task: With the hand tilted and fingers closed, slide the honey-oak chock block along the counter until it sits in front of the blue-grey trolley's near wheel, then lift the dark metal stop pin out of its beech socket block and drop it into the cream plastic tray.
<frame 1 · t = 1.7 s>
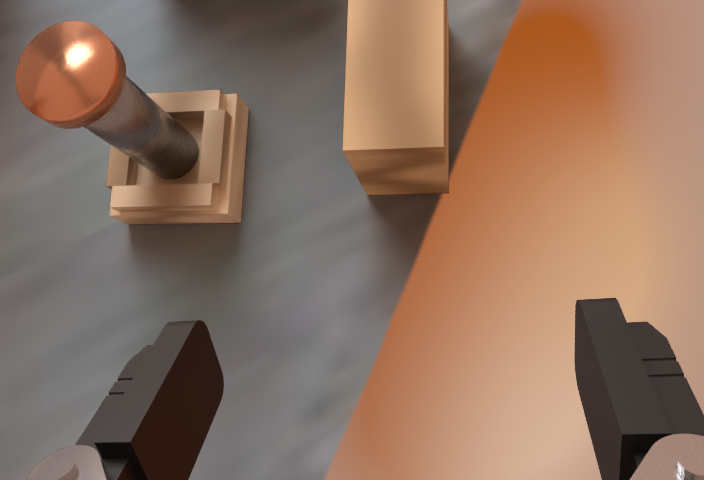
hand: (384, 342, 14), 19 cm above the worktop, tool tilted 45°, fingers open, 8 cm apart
pin: (173, 154, 36), point 2 cm above the worktop, touching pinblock
chock: (408, 109, 36), on the worktop
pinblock: (188, 166, 37), on the worktop
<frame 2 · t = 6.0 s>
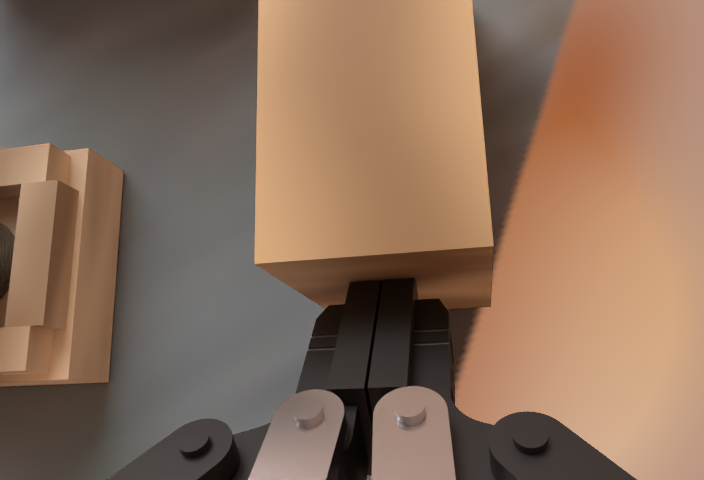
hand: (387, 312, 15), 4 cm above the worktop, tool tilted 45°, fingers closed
chock: (403, 151, 20), on the worktop, touching gripper
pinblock: (21, 279, 21), on the worktop
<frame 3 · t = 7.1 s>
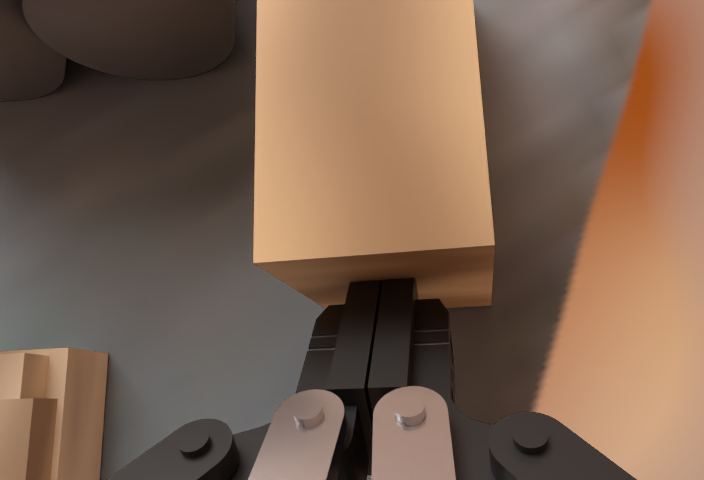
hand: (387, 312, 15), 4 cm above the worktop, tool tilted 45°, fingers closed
chock: (403, 149, 20), on the worktop, touching gripper
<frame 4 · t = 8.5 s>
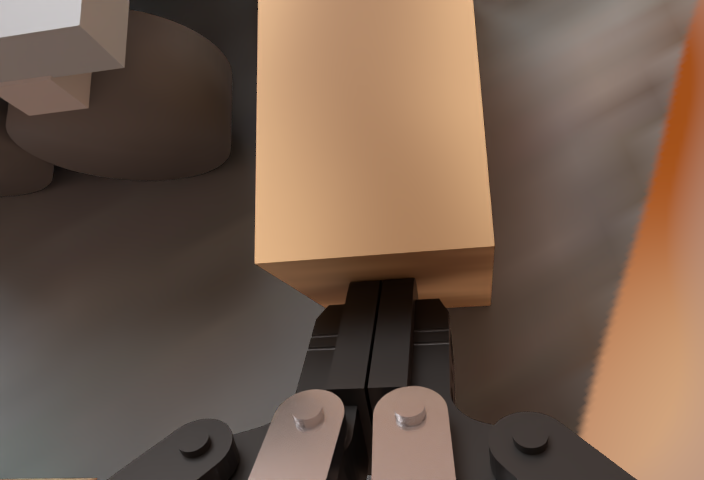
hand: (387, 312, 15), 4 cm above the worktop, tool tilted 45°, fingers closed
chock: (403, 149, 20), on the worktop, touching gripper
trolley: (105, 16, 23), on the worktop
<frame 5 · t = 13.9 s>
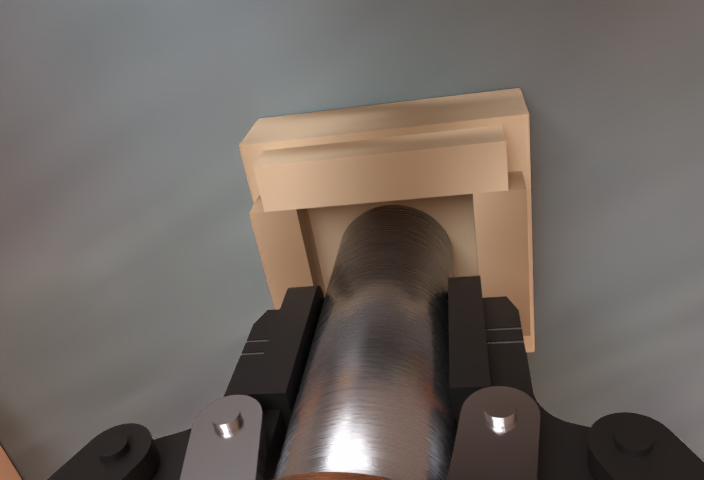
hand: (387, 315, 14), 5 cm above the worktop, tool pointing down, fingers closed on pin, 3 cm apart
pin: (395, 255, 17), point 2 cm above the worktop, touching gripper, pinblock
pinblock: (400, 219, 18), on the worktop
when the fingers open (6 cm above the worktop, at t = 19.3 s): pin stays where it is, resting on tray.
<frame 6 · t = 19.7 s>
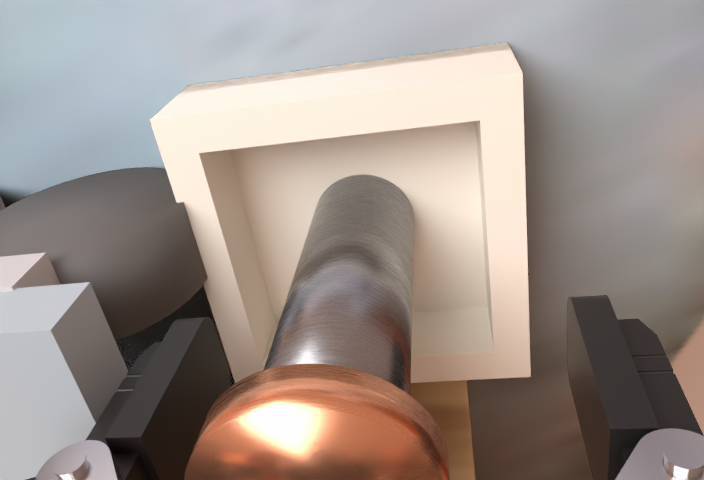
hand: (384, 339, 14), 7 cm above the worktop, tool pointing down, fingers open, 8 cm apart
tray: (365, 208, 20), on the worktop
pin: (364, 220, 19), point 1 cm above the worktop, touching tray
chock: (415, 452, 25), on the worktop
trolley: (109, 342, 23), on the worktop
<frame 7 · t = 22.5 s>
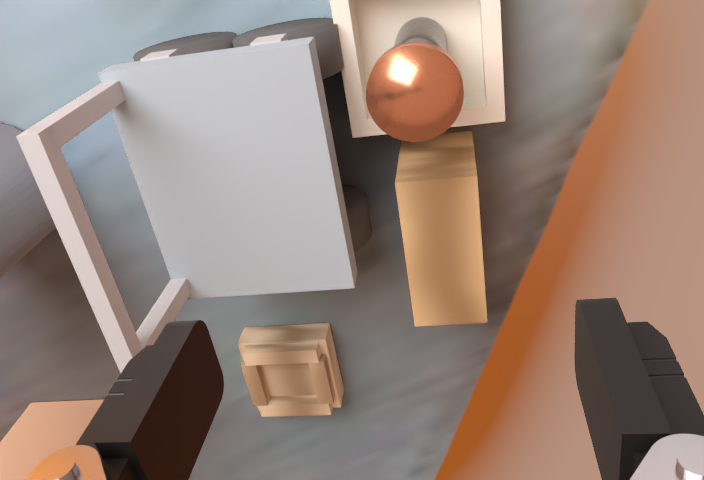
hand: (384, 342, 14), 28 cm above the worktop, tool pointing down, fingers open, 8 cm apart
tray: (420, 40, 38), on the worktop
pin: (421, 43, 37), point 1 cm above the worktop, touching tray
chock: (443, 202, 43), on the worktop
trolley: (272, 130, 42), on the worktop
soap dispenser: (69, 432, 60), on the worktop
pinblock: (295, 359, 52), on the worktop
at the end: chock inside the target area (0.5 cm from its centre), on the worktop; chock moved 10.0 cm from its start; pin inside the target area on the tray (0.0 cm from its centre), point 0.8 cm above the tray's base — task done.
